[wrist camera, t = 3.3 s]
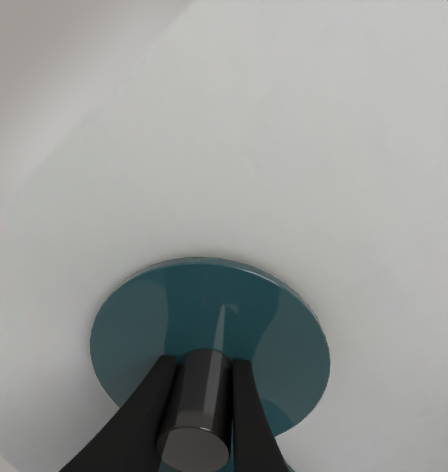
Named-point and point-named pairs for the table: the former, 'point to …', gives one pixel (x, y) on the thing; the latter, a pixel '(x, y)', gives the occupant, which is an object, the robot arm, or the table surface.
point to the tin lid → (210, 351)
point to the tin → (164, 468)
